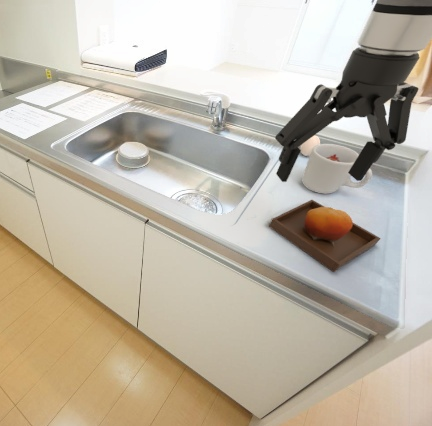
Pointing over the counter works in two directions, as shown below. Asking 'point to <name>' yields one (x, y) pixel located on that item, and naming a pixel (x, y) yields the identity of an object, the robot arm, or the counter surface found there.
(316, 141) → the egg
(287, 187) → the counter surface
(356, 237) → the tray
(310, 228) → the fruit
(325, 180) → the cup
